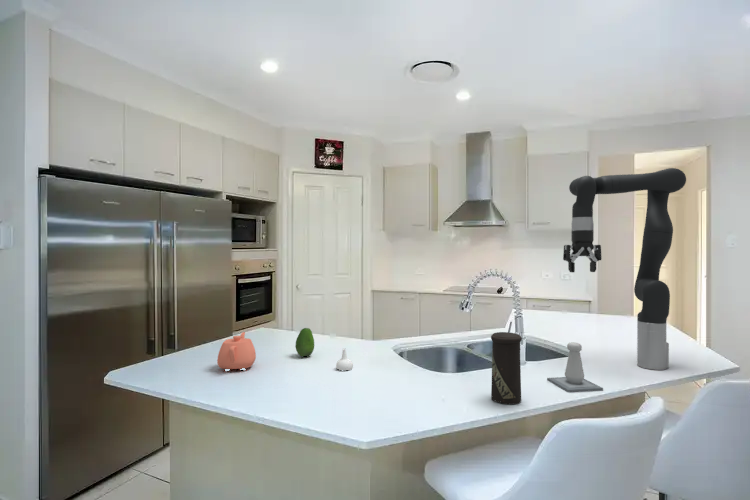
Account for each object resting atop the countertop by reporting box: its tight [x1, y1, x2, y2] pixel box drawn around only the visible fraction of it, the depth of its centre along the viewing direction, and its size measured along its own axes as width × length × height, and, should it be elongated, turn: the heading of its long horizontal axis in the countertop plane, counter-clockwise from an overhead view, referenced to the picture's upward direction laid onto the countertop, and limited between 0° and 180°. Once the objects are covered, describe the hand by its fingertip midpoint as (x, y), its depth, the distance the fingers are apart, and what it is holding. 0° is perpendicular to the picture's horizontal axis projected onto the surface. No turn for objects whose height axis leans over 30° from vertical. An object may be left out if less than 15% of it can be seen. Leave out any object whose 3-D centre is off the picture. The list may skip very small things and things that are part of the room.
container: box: [490, 331, 523, 405], centre depth 124 cm, size 9×9×20 cm
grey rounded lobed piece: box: [564, 342, 585, 384], centre depth 137 cm, size 6×6×13 cm
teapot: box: [216, 331, 257, 370], centre depth 158 cm, size 13×20×12 cm, turn 5°
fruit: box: [294, 327, 315, 357], centre depth 173 cm, size 8×8×12 cm
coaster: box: [546, 376, 604, 393], centre depth 137 cm, size 12×12×1 cm
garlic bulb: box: [335, 348, 354, 371], centre depth 156 cm, size 6×6×8 cm
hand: (582, 272), depth 158 cm, fingers open, 8 cm apart
